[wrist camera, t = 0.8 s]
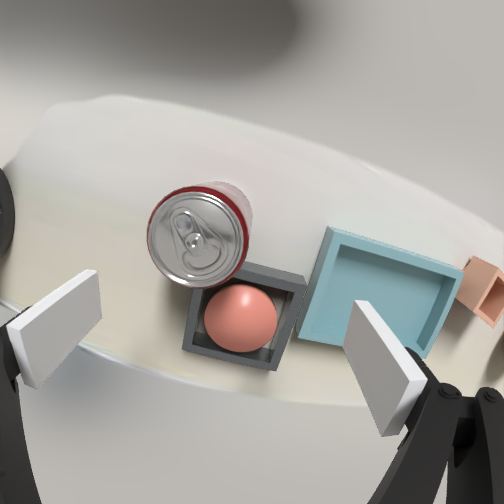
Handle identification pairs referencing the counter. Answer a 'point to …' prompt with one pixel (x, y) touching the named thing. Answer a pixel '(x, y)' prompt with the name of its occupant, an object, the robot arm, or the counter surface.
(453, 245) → the counter surface
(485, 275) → the cup
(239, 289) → the salmon round part
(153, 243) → the soda can
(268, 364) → the cradle
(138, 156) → the counter surface
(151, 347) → the counter surface
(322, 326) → the trough
